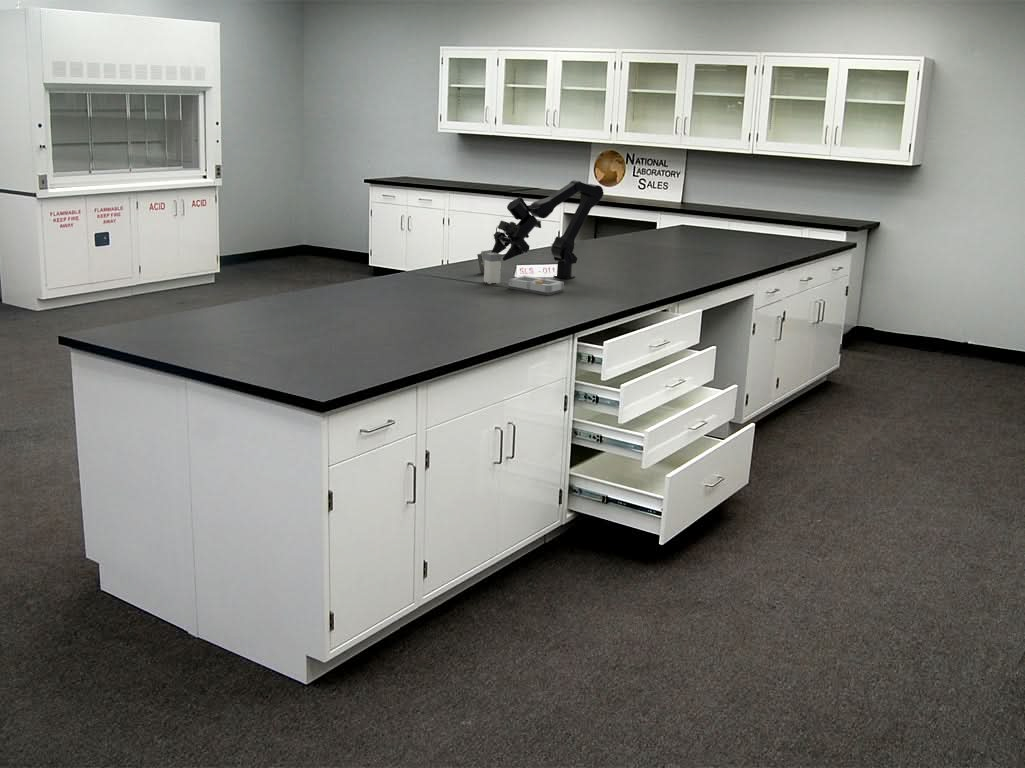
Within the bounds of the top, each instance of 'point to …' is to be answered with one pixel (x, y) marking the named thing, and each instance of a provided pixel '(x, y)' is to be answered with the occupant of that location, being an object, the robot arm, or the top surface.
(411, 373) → the top surface
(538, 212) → the robot arm
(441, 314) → the top surface
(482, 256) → the electrical switch
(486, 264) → the grey tall block
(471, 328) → the top surface
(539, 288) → the white rectangular frame
